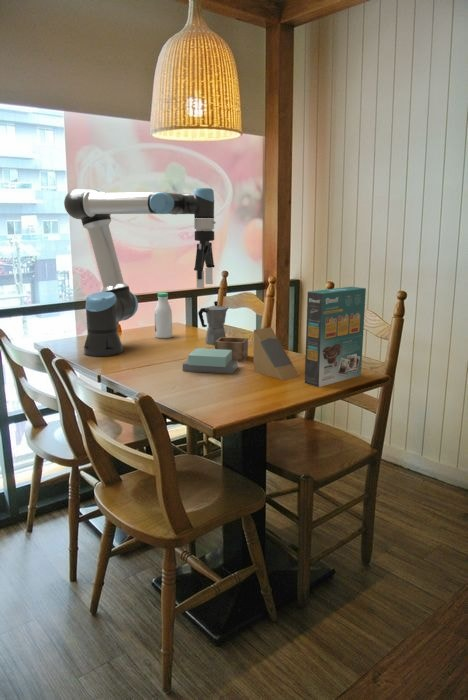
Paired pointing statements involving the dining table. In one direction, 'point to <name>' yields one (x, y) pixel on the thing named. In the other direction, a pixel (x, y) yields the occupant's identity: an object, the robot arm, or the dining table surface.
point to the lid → (210, 357)
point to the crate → (234, 347)
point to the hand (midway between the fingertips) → (204, 286)
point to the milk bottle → (163, 317)
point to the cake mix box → (334, 335)
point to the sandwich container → (271, 356)
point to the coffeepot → (214, 322)
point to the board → (212, 368)
